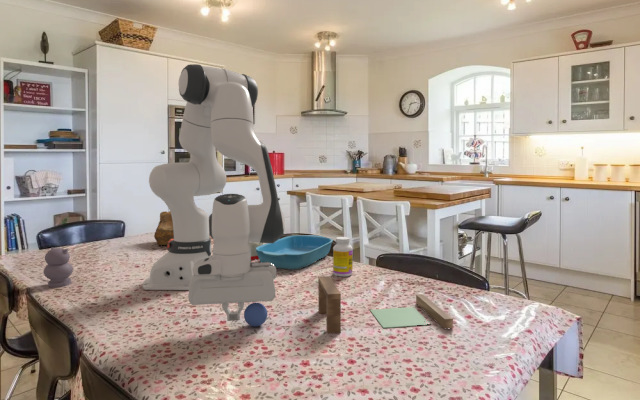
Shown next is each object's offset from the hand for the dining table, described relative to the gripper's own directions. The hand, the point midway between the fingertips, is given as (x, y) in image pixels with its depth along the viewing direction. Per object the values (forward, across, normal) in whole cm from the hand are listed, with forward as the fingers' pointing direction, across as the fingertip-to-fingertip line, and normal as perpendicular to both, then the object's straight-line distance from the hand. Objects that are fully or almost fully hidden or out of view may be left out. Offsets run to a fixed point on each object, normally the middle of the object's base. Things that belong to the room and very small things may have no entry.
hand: (233, 319), depth 102 cm
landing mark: (+2, -41, 0) cm, 41 cm away
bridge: (+2, -23, 0) cm, 23 cm away
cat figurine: (+2, +58, -44) cm, 73 cm away
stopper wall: (+2, -50, -1) cm, 50 cm away
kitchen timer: (+2, 0, -74) cm, 74 cm away
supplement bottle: (+2, -34, -41) cm, 54 cm away
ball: (-1, -5, 0) cm, 5 cm away
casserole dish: (+2, -20, -65) cm, 68 cm away
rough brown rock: (+1, +35, -104) cm, 110 cm away
